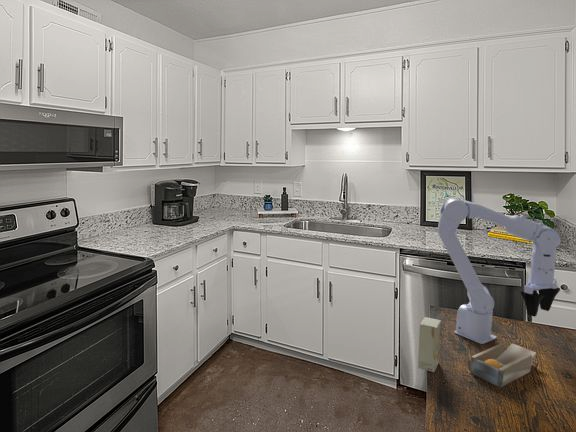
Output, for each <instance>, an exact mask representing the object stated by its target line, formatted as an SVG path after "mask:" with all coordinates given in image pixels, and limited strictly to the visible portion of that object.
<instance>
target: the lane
mask: <svg viewBox="0 0 576 432" xmlns="http://www.w3.org/2000/svg"><path fill="white" fill-rule="evenodd" d="M536 355H537V352H536V351H533V350H531V349H528V348H525V347H523V346H520V345H518V344H515V343H511V344H510V345H509V346H507V348H506V349H505V343H502V342H501V343H499V344H496V345H494V346H492V347H490V348H487V349H485V350H483V351H481V352H480V351H479V353H476V354H474V355H472V356H471V361H470V374H472V375H474V376H477V377H478V378H481V379H482V380H484V381H485V382H488V383H490V384H492V385H494V386H497V387H498V388H502V387H505V386H506V385H508V384H511V383H512V382H514V381H516V380H517V379H519V378H521V377H523V376H525V375H526V374H528V373H530V372H531V370H532V369H531V367H532V366H533V361H534V358H535V357H536ZM488 359H494V360H496V361H498V362H499V364H500V365H501V368H499V369H497V368H495V367H493V366H491V365H489V364H487V363H484V362H485V361H486V360H488Z"/></svg>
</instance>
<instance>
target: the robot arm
mask: <svg viewBox="0 0 576 432" xmlns="http://www.w3.org/2000/svg"><path fill="white" fill-rule="evenodd" d="M527 217H528V216H526V215H523V214H520V215H518V214H515V215H511V216H507V215H505V214H503V213H500V212H498V211H496V210H494V209H491V208H488V207H486V206H484V205H482V204H479V203H476V202H472V201H469V200H465V199H464V200H462V199H461V198H458V197H451V198H448V199H447V200H445V202H444V203H443V205H442V206H441V209H440V211H439V219H438V225H437V233H438V235H439V238H440V240H441V241H442V243H443V245H444V248H445V249H446V251H447V253H448V255H449V257H450V260H451V261H452V263H453V264H454V267H455V269H456V271H457V273H458V275H459V277H460V278H461V280H462V283H463V284H464V286H465V288H466V291H467V292H466V294H467V297H468V300H469V302H468V303H466V304H465V303H464V304H462V305H460V306H459V308H458V309H457V311H456V312H457V313H456V326H455V330H454V333H455V334H456V335H458V336H461V337H464V338H466V339H469V340H470V341H473V342H475V343H478V344H481V345H484V344H487V343H490V342H491V341H493V340H495V339H497V338H498V337H497V335H494V334H492V324H493V312H494V307H495V300H494V297H492V295H491V294H490V291H489V289H488V287H487V286H485V285H484V284H483V283H481V281H480V279H479V277H478V275H477V273H476V271H475V269H474V267H473V265H472V263H471V261H470V259H469V258H468V255H467V254H466V251H465V250H464V248H463V245H462V244H461V242H460V239H459V238H458V236H457V234H456V231H457V230H458V227H459V225H460V224H461V223H462V222H463V221H464V220H465V219H466V218H467V219H474V218H480V219H482V220H485V221H488V222H491V223H494V224H497V225H499V226H502V227H504V229H505V231H506V233H507V234H509V235H513V236H515V237H517V238H519V239H523V240H525V241H528V242H533V243H532V251H531V261H530V272H529V280H528V282H527V283H526V284H525V285H524V286H523V287H524V288H523V289H521V290H520V295H521V297H522V299H523V301H524V304H525V305H524V306H525V308H526V314H527V315H529V316H531V317H537V316H538V312H539V308H540V310H542V311H546V312H549V311H550V309H551V308H552V304H553V302H554V300H555V298H556V296H557V295H558V294H559V292H560V291H561V288H560V287H558V285H557V284H558V283H557V281H558V279H557V278H554V276H555V267H556V257H557V247H558V246H559V245H561V242H562V239H561V236H560V234H559V232H558V231H557V230H556V229H553V228H552V227H550V226H547V225H546V224H545V223H543V222H540V221H539V222H536V221H534V220H531V219H528V218H527Z"/></svg>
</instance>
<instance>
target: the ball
mask: <svg viewBox="0 0 576 432" xmlns="http://www.w3.org/2000/svg"><path fill="white" fill-rule="evenodd" d="M484 363H487V364H489V365H491V366H493V367H495V368H497V369H499V368H501V365H500V364H499V362H498V361H496V360H494V359H488V360H486V361H485V362H484Z"/></svg>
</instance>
